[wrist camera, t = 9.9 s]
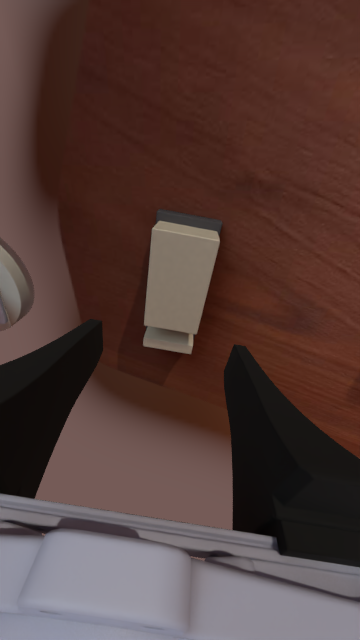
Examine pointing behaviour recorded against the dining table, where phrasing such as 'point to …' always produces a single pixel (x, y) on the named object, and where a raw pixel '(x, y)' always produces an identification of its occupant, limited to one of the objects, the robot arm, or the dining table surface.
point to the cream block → (178, 278)
